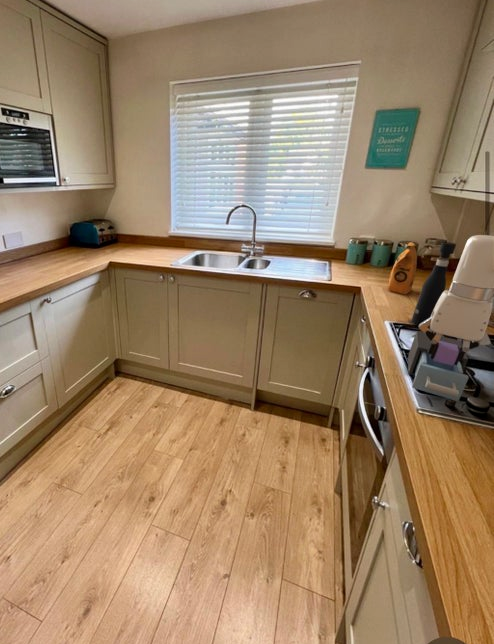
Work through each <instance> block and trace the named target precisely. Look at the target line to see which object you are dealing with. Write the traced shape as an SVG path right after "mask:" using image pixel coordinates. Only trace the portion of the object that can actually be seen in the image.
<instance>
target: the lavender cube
mask: <svg viewBox="0 0 494 644" xmlns="http://www.w3.org/2000/svg"><path fill="white" fill-rule="evenodd" d="M438 342H439V343H438V345H439V346H438V349H437V352H436V354H435V357H434V359H433V360H434V361H437V362H440V363H444V364H448V365H452V366H454V363H455V361H456V358H457V356H458V354H459V349H458V346H457V345H455V344H451V343H447V342H442V341H438Z"/></svg>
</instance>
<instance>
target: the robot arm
mask: <svg viewBox="0 0 494 644" xmlns="http://www.w3.org/2000/svg"><path fill="white" fill-rule="evenodd" d="M493 298H494V235H489V234H488V235H487V234H476V235H472V236H470V237H469V238H468V239H467V241H466V243H465V245H464V248H463V251H462V253H461V256H460V259H459V262H458V264H457V267H456V270H455V272H454V274H453V277H452V279H451V283H450V286H449V288H448V290H446V289H445V291H444V292H443V293H442V295H441V296H440V298H439V300H438V302H437V304H436V306H435V308H434V310H433V312H432V315H431V317H430V318H428V319H427V320H425V321H424V322H422V323H421V324H419V326H418V329H419V330H420V332H424V333H425V334H426V335H427V337H428V338H429V339H430V341H431V343H430V346H429V348H428V353H429V354H430V359H434V357H435V354H436V352H437V349H438V346H439V345H438V343H439V342H438V341H439V340H440V338H441V337H443V335H444V336H448V337H453V338H456V339H461V340H460V341H461V345H459V346H458V349H459V354H458V356H457V358H456V361H455V363H454V365H457V364H458V362H459V361H460V362H461V361H462V359H463V357H464V355H465V352H466V353H467V352H469V351H470V350H473V349H476V348H478V347H483V346H488V345H491V344H492V342H491V340H490V337H489V334H488V332H487V328H488V325H489V322H490V317H491V315H492V310H493V305H494V301H493ZM428 326H430V327H429V328H427V327H428Z"/></svg>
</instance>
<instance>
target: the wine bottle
mask: <svg viewBox="0 0 494 644" xmlns="http://www.w3.org/2000/svg"><path fill="white" fill-rule="evenodd" d="M456 247H457V243H454V242H450V241H448V242H447V241H443V242H441V245H440V248H439V250H438V252H439V253H440V255H439V257H438V258H437V260H436V263H435V264H434V265H433V268H432V272H431V273H430V274H429V275H428V276H427V278H426V279H425V281H424V283H423V285H422V287H421V291H420V293H419V297H418V299H417V302H416V304H415V308H414V311H413V314H412V317H411V320H410V322H411V324H413V325H415V326H417V327H419V324H421V323H422V322H424V321H425V320H427V319H428V318H430V317H431V315H432V312H433V310H434V308H435V306H436V304H437V302H438V300H439V298H440V296H441V295H442V293H443V292H444V291H445V290H446V286H447V275H446V274H447V272H448V268H449V266H448V265H449V264H450V262H449V259H450V256H451V255H453V254H454V252H455V249H456ZM427 328H428V329H430V326H428V327H427Z"/></svg>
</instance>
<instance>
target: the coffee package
mask: <svg viewBox="0 0 494 644" xmlns="http://www.w3.org/2000/svg"><path fill="white" fill-rule="evenodd" d="M415 246H416V244H415V243H414V242H413V241H411V242H408V243H407V246H406V247H405V248H406V249H405V250H404V251H402V252H401V253H400V254H399V255H398V256H397V258H396V260H395V262H394V264H393V266H392V269H391V271H390V274H389V278H388V279H389V280H388V284H387V285H388V286H387V289H388V291H389V292H394V293H397V294H402V295H408V293H409V292H410V291H411V290H412V289H413V285H414V281H415V277H416V272H417V266H418V264H417V263H418V262H417V261H418V252H417V250H416V248H415Z"/></svg>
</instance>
